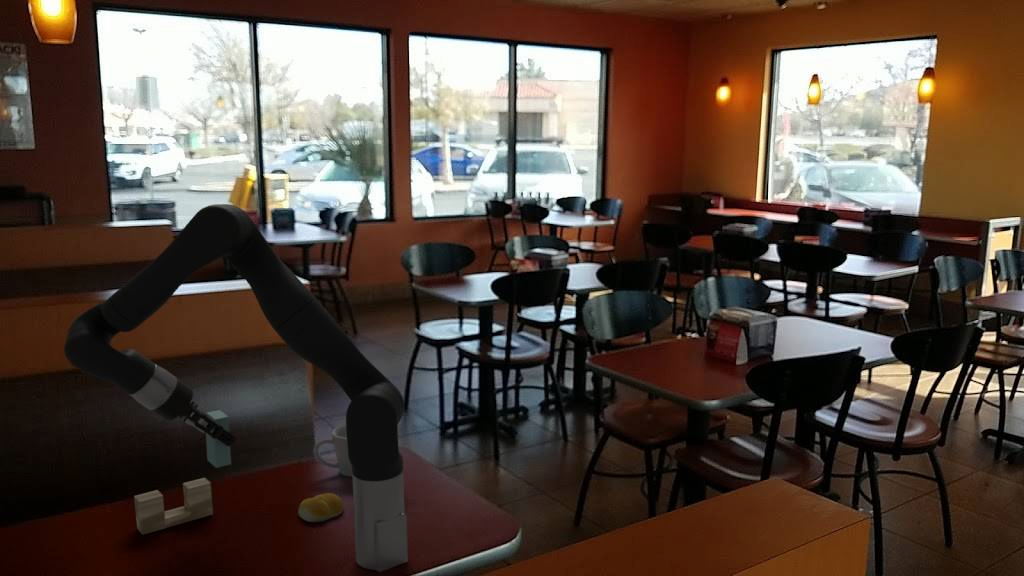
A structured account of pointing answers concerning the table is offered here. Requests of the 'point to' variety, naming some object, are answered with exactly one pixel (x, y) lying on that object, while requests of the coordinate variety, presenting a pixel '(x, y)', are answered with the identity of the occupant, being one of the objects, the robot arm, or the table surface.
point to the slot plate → (156, 518)
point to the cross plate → (218, 442)
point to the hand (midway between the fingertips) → (226, 437)
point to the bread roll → (320, 507)
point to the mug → (337, 451)
